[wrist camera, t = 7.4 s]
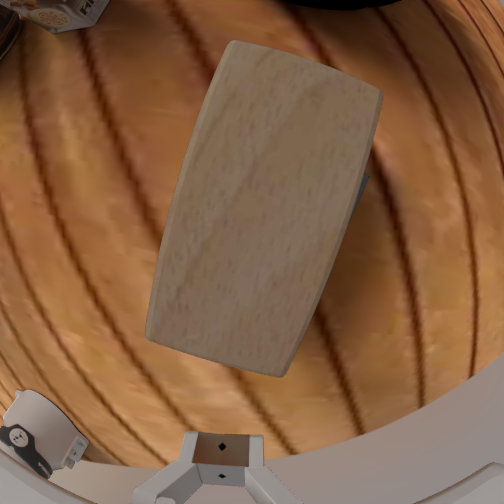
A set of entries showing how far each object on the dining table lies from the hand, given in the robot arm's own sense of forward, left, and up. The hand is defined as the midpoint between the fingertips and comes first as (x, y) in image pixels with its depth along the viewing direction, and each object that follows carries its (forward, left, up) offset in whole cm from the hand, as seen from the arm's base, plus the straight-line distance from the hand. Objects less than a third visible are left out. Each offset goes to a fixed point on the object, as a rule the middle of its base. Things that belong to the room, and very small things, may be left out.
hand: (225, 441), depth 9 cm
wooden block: (-2, +1, -13) cm, 13 cm away
